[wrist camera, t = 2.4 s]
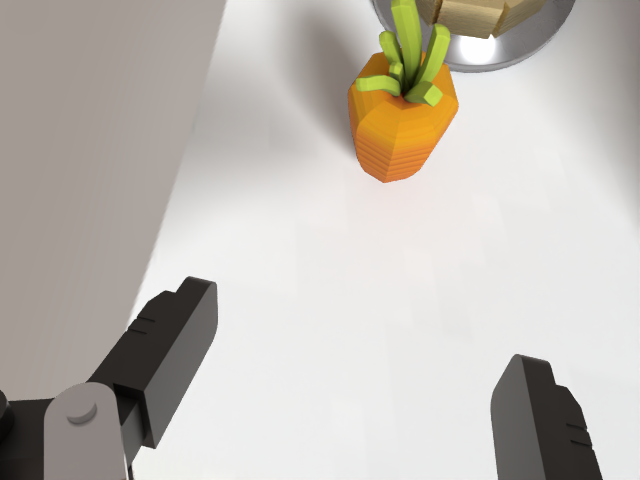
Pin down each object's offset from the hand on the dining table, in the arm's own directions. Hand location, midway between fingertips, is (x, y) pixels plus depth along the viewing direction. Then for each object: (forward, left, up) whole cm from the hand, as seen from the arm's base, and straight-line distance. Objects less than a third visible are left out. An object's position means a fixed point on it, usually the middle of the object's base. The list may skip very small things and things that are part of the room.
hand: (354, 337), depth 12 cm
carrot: (0, -10, -17) cm, 20 cm away
